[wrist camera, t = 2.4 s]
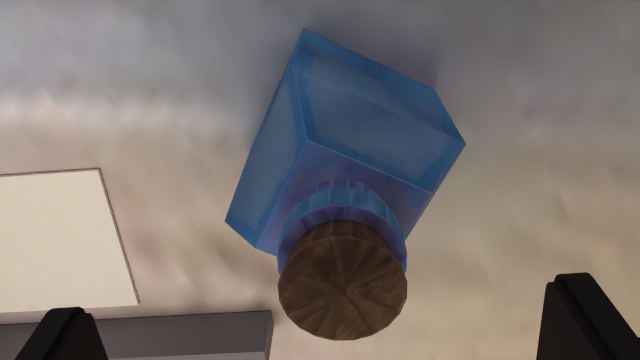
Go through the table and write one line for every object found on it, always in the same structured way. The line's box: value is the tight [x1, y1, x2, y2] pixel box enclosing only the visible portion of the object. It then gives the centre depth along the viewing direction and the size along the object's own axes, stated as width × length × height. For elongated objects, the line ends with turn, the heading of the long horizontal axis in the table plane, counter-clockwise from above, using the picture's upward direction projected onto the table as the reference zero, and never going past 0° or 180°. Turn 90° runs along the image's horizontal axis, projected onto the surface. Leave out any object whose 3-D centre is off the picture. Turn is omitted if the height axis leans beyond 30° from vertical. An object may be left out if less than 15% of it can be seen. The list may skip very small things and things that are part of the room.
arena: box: [0, 169, 274, 360], centre depth 25 cm, size 17×15×3 cm
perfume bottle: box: [224, 29, 466, 341], centre depth 18 cm, size 6×6×12 cm
